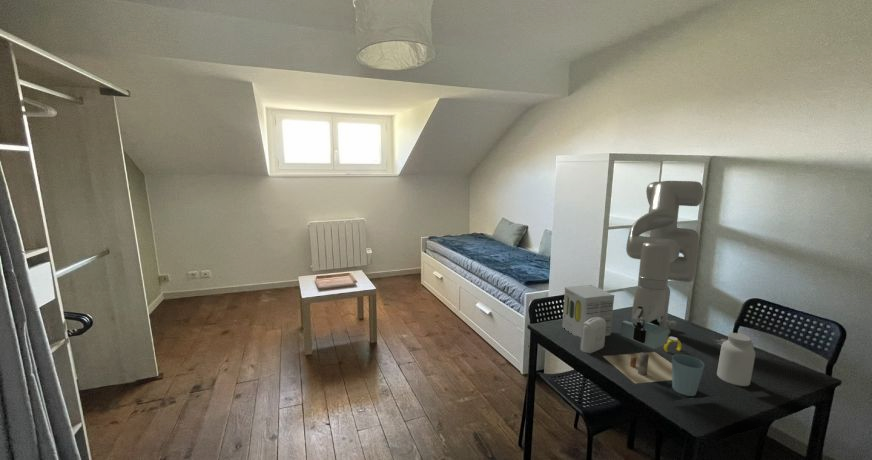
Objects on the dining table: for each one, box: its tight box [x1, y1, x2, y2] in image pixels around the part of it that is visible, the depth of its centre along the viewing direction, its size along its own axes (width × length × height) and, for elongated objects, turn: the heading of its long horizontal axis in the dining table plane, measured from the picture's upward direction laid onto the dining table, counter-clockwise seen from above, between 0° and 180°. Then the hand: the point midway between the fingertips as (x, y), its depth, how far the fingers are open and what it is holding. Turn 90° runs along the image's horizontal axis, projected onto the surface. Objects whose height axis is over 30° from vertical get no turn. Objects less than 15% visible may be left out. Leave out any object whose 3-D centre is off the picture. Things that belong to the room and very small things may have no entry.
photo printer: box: [579, 317, 606, 354], centre depth 127 cm, size 10×4×12 cm, turn 123°
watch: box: [663, 336, 682, 353], centre depth 126 cm, size 6×3×6 cm, turn 98°
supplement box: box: [562, 284, 615, 338], centre depth 141 cm, size 13×13×18 cm
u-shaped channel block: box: [620, 317, 670, 350], centre depth 110 cm, size 10×7×4 cm
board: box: [602, 351, 672, 385], centre depth 116 cm, size 20×16×8 cm
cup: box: [671, 353, 705, 400], centre depth 103 cm, size 8×8×10 cm
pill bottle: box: [716, 332, 756, 387], centre depth 109 cm, size 8×8×15 cm
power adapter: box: [711, 338, 755, 349], centre depth 127 cm, size 11×5×6 cm, turn 63°
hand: (646, 337), depth 110 cm, fingers closed on u-shaped channel block, 7 cm apart
